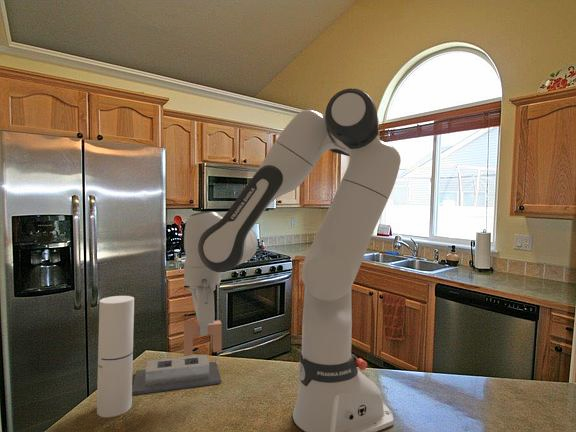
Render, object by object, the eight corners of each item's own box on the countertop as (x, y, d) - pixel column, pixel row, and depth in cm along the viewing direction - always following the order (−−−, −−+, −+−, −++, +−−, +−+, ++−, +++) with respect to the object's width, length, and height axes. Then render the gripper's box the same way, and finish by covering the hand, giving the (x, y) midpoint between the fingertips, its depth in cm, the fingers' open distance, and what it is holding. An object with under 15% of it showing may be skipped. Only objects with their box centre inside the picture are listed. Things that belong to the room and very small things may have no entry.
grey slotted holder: (216, 364, 103) (216, 350, 103) (221, 383, 91) (221, 367, 91) (136, 373, 96) (136, 358, 96) (131, 395, 84) (131, 377, 84)
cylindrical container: (117, 419, 74) (120, 304, 74) (89, 414, 76) (91, 302, 76) (138, 402, 81) (140, 297, 81) (111, 398, 83) (114, 294, 83)
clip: (220, 347, 88) (220, 320, 88) (221, 351, 85) (221, 323, 85) (183, 351, 85) (183, 323, 85) (184, 356, 82) (184, 327, 82)
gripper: (221, 283, 77) (221, 345, 77) (211, 270, 96) (211, 319, 96) (191, 285, 75) (192, 348, 74) (187, 271, 94) (187, 321, 94)
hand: (202, 332), depth 85 cm, fingers closed on clip, 3 cm apart
